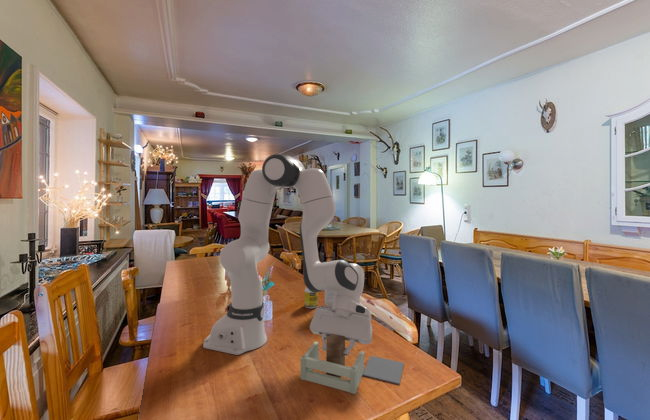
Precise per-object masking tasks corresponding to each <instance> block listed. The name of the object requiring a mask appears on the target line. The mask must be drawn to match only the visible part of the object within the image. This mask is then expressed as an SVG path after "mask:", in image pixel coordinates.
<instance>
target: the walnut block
mask: <svg viewBox="0 0 650 420" xmlns="http://www.w3.org/2000/svg"><path fill="white" fill-rule="evenodd" d="M325 340H326V339H325ZM344 348H346V340H345V336H341V335H336V334H330V335H329V337H328V338H327V340H326V351H325V353H326V355H325V356H326V360H325V361H328V362H332V363H336V364H340V365H344V366H346V355H344V354H343V351H344ZM325 374H326V375H330V376H334V377H338V378H342V376H339V375H335V374H331V373H327V372H325Z"/></svg>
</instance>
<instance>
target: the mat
mask: <svg viewBox="0 0 650 420" xmlns="http://www.w3.org/2000/svg"><path fill="white" fill-rule="evenodd" d="M368 358H369V359H368V361H367V363H366V365H365V366H364V372H363V376H362V377H366V378H371V379H375V380H379V381H381V382H382V381H383V382H387V383H391V384H393V385H394V384H395V385H398V386H399V385H401V380H402V377H403V369H404V366H405V362H403V361H402V362H401V361H397V360H393V359H388V358H384V357H379V356H374V355H370V356H369V357H368Z"/></svg>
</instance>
